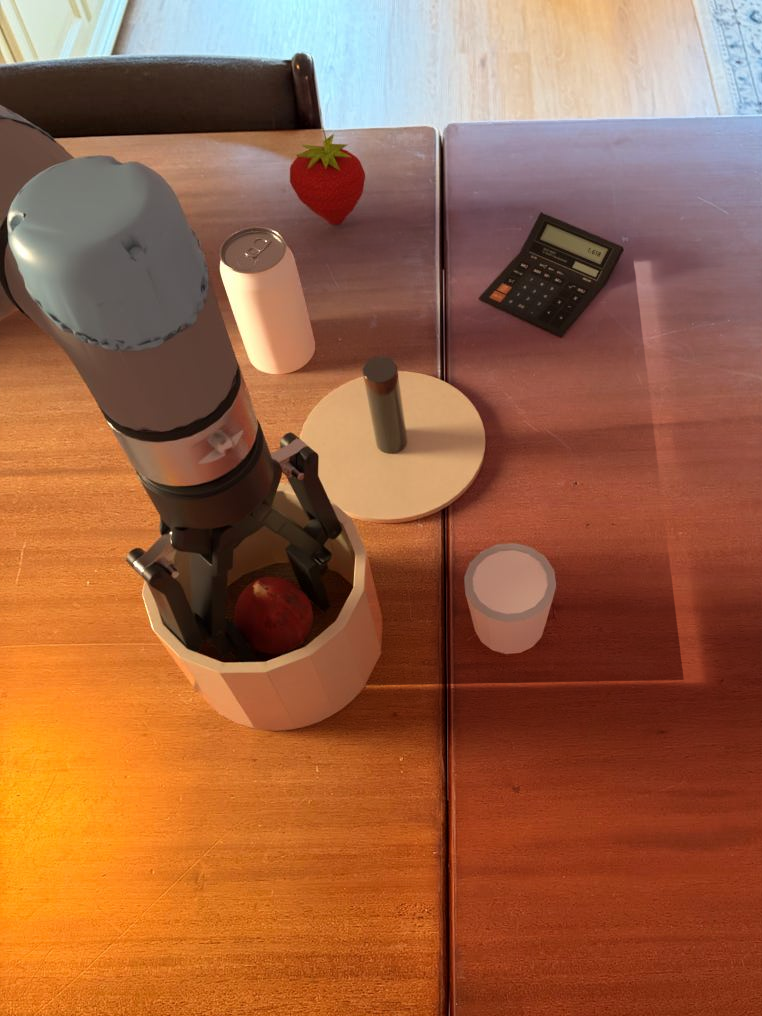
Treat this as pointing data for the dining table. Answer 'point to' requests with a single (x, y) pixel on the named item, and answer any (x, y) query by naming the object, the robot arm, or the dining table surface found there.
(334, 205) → the strawberry
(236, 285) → the can
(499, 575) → the shot glass
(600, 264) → the calculator
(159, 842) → the dining table surface
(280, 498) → the pot
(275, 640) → the onion
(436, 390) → the pot lid
